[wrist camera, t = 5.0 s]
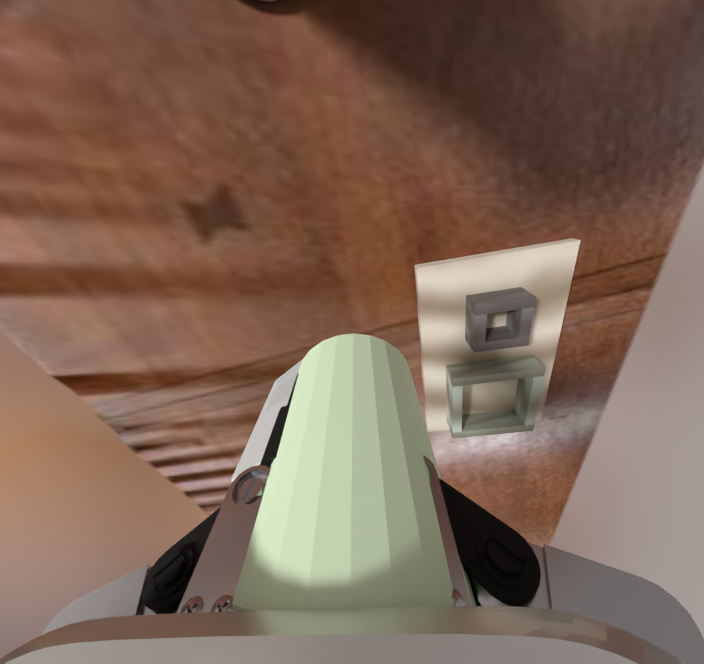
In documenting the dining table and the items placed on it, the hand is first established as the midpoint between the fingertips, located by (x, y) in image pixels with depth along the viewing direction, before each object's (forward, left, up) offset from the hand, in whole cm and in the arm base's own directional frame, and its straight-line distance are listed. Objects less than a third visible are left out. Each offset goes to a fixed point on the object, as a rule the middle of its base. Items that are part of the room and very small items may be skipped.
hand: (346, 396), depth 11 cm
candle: (0, 0, -1) cm, 1 cm away
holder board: (+11, +13, -17) cm, 24 cm away
